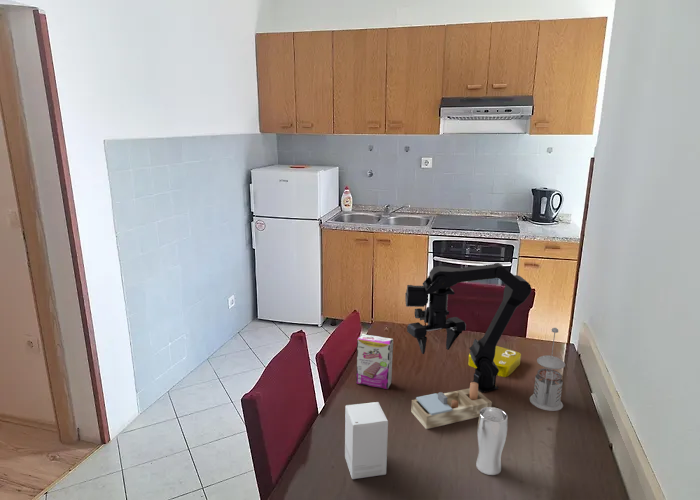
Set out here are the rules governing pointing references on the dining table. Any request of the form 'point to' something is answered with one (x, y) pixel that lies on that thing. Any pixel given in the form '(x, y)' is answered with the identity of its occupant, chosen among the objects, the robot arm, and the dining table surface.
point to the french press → (548, 383)
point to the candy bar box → (374, 361)
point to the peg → (473, 391)
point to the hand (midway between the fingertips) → (435, 351)
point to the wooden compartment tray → (460, 409)
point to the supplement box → (366, 440)
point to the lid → (434, 403)
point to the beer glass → (491, 439)
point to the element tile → (503, 361)
